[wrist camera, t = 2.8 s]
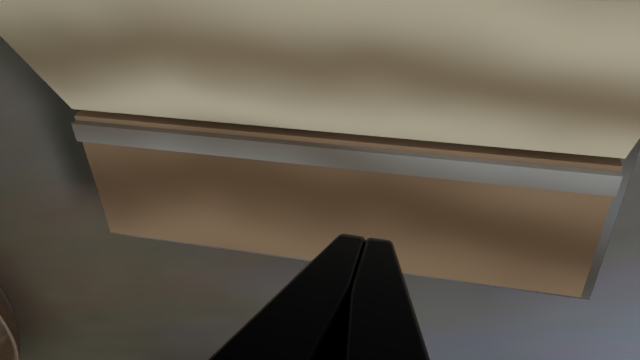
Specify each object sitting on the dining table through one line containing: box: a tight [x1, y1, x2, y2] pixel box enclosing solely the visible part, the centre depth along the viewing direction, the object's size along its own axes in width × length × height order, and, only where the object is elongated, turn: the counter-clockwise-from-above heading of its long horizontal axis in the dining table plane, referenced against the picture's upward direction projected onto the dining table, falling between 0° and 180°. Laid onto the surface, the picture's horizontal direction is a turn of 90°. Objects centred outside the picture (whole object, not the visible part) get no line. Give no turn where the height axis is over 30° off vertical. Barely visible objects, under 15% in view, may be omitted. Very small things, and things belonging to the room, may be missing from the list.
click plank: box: [0, 0, 640, 159], centre depth 18 cm, size 7×20×2 cm, turn 94°
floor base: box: [71, 110, 640, 300], centre depth 21 cm, size 18×22×3 cm
